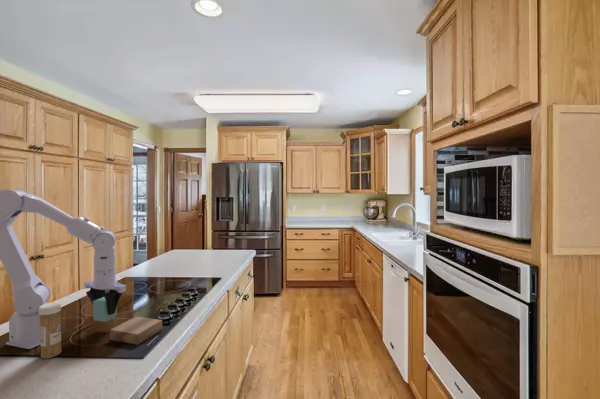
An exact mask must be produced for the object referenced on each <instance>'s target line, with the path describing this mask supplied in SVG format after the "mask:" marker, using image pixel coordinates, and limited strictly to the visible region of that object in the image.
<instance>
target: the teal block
mask: <svg viewBox="0 0 600 399" xmlns="http://www.w3.org/2000/svg"><path fill="white" fill-rule="evenodd" d="M92 308H93V310H92V311H93V313H92V315H93V317H92V318H93V321H96V322H97V321H98V322H104V323H105V322H108V321H110V320H112V319H114V318H116V317H118V306H117V307H116V311H115V313H114V314H111V315H108V312H107V303H106V300H105V297H102V298H99V299H97V300H94V301H93V304H92Z"/></svg>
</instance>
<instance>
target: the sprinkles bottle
mask: <svg viewBox="0 0 600 399" xmlns="http://www.w3.org/2000/svg"><path fill="white" fill-rule="evenodd" d="M61 306H62V304H61V303H60V302H47V304H44V305H42V306H40V307H39V315H40V345H39V346H40V358H41V359H51V358H54V357H57V356H58V355H60V354H61V353H62V331H61V329H62V328H61V326H62V325H61V311H62V308H61Z"/></svg>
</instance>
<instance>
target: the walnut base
mask: <svg viewBox="0 0 600 399" xmlns="http://www.w3.org/2000/svg"><path fill="white" fill-rule="evenodd" d="M162 331H163V319H155V318H149V317H144V316H134V317H132V318H130V319H129V320H126V321H124V322H122V323H120V324H118V325H117V326H115V327H112V328H111V329H109V340H110V341H115V342H121V343H126V344H130V345H131V344H132V345H138V346H139V345H140V344H142V343H143V342H145V341H146V340H148V339H150V338H151V337H153V336H154V335H156V334H158V333H159V332H162Z"/></svg>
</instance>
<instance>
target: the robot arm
mask: <svg viewBox="0 0 600 399" xmlns="http://www.w3.org/2000/svg"><path fill="white" fill-rule="evenodd" d="M21 213H33V214H34V213H37V214H39V215H40V216H43V217H45V218H47V219H49V220H52V221H53V222H55V223H58V224H60V225H62V226H64V227H65V228H66V231H67V233H68V234H69V235H72V236H73V237H75V238H77V239H79V240H81V241H82V242H85V243H87V244H91V245H92V248H93V249H94V256H93V280H87V281H85V282H83V285H84V286H83V287H84V288H83V289H89V290H88V291H86V293H85V295H86V296H87V297H88V298H89V300H90V302H91V304H92V305H93V301H94V300H97V299H99V298H102V297H105V300H106V303H107V312H108V315H111V314H114V313H115V311H116V307H117V308H118V304H119V301H120V299H121V297H122V295H123V293H124V292H127V284H123V283H120V282H119V281H118V280H117V279H116V253H115V252H116V248H115V244H116V240H117V238H116V236H115V234H114V233H113V232H112V231H111V230H110V229H106V228H105V227H104V226H99V225H97V224H95V223H93V222H91V219H90V218H89V217H86V216H85V217H83V216H77V217H73V216H71V215H70V214H69V213H66V212H65V211H63V210H61V209H60V208H58V207H57V206H55V205H53V204H51V203H50V202H48V201H47V200H44V199H43V198H41V197H39V196H37V195H35V194H33V193H29V192H28V191H26V190H24V189H19V188H17V189H16V188H15V189H2V190H0V261H1V263H2V265H3V267H4V268H5V272H6V273H7V275H8V277H9V280H10V281H11V284H12V291H11V292H12V296H13V298H14V302H13V308H14V310H15V311H14V312H13V313H12V314H11V315H10V317H9V320H8V337H9V338H8V339H9V341H7V342H6V343H5V345H7V346H12V347H16V348H22V349H27V350H31V349H33V348H35V347H37V346H41V345H40V315H39V307H40V306H42V305H44V304H48V302H47V301H48V300H49V299H50V297H51V294H52V293H51V289H50V287H49V286H48V285H46V284H45V283H44V282H43V281H42V280H41V278H40V277H39V276H38V275H37V274H36V273H35V272H34V270H33V267H32V265H31V262H30V261H29V259H28V257H27V255H26V253H25V251H24V248H23V246H22V245H21V242H20V240H19V238H18V236H17V234H16V232H15V230H14V228H13V226H12V225H13V224H14V222H15V220H16V219H17V218H18V217H19V216H18V215H20V214H21ZM106 291H108V292H106Z"/></svg>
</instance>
